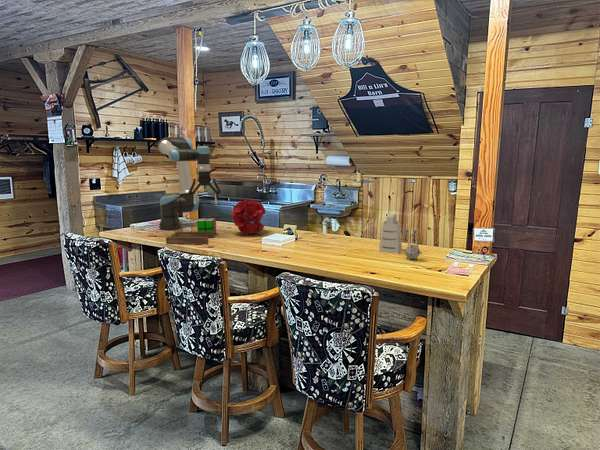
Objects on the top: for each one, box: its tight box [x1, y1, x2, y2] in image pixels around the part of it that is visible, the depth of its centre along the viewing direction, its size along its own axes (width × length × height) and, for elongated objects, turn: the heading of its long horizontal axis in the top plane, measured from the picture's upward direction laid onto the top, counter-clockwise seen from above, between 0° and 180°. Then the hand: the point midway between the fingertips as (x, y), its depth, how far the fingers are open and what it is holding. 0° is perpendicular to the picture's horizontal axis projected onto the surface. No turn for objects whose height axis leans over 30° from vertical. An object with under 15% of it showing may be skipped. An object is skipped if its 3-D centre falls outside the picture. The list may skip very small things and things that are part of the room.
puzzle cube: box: [196, 217, 217, 235], centre depth 278 cm, size 10×10×10 cm
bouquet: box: [230, 198, 267, 235], centre depth 286 cm, size 22×24×30 cm
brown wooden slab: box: [165, 231, 215, 246], centre depth 262 cm, size 19×24×4 cm
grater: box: [378, 213, 403, 254], centre depth 233 cm, size 10×10×20 cm
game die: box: [402, 242, 422, 261], centre depth 215 cm, size 9×8×10 cm
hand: (205, 204), depth 275 cm, fingers open, 13 cm apart
